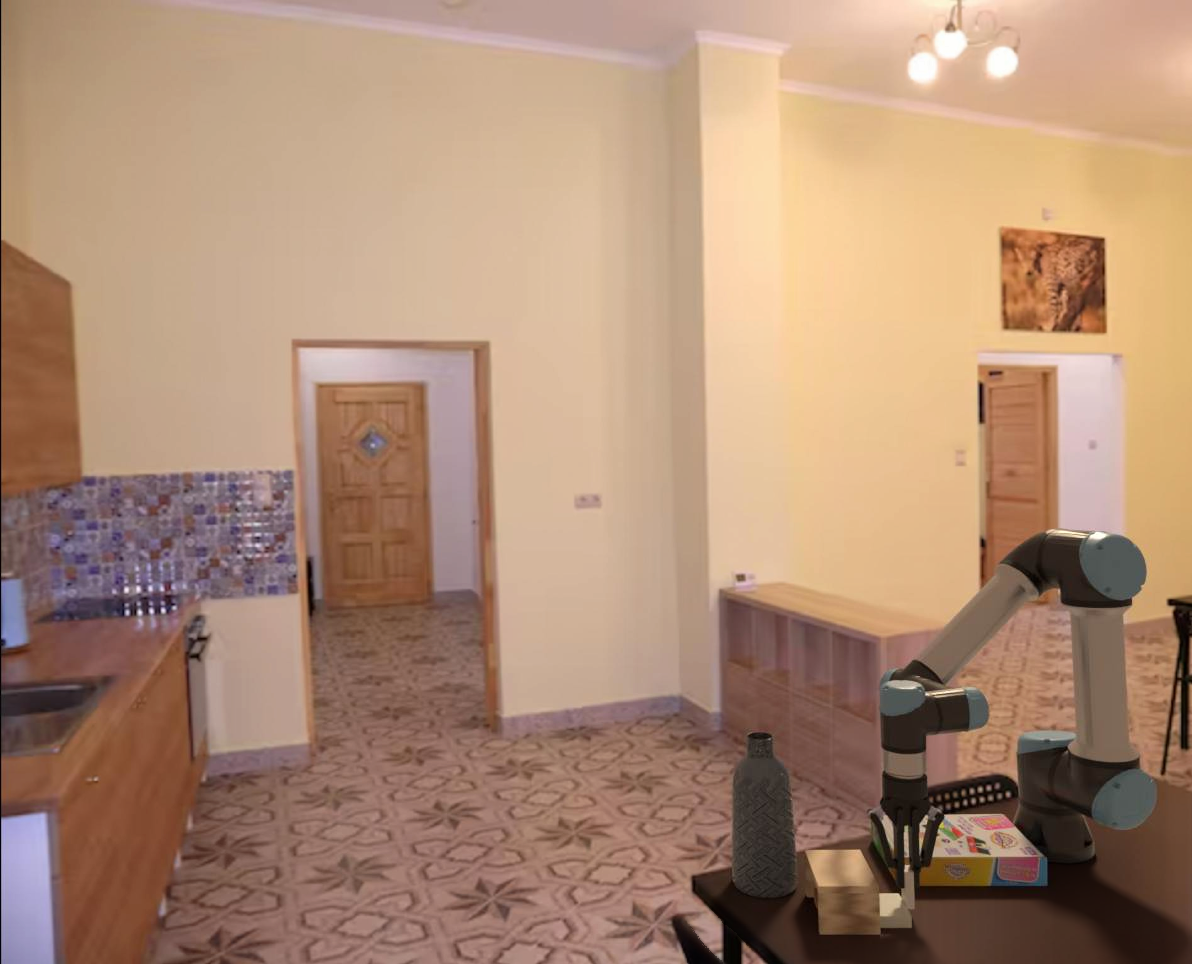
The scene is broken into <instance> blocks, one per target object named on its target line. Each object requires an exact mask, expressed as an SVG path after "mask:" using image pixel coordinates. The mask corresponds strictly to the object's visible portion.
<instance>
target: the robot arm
mask: <svg viewBox="0 0 1192 964" xmlns="http://www.w3.org/2000/svg"><path fill="white" fill-rule="evenodd" d="M993 571H994V575H993V576H992V577H991V578H990V579H989V580H988V581H987V582H986V584H985V585H984V586H983V587H982V588H980V589H979V591H978V592H976V594H975V595H974V596H973V597H972V598H971V599H970V600H969V601H968V602H967V603H966V604H965V605H964V606H963V607H961V609H960V610H959V612H958V613H956V614H955V616H953V618H951V619H950V621H949V622H948V623H947V624H946V625H945V626H944V627H942V629H941V630H940V631H939V632H938V633H937V634H936V635H935V636H934V637H933V638H932V639H931V640H930V641H929V643H928V644H927V645H925V646H924V648H923V649H922V650H920V652H919V653H918V654H917V655H916V656H915V657H914V658H913V659H912V660H911V661H910V662H909V663H908V664H907V665H906V666H905V667H904V668H898V667H897V668H896V667H895V668H892V669H889V670H887V671H885V672H884V674H882V676H881V678H880V681H879V683H878V690H879V691H878V693H879V705H878V710H879V725H880V726H879V731H880V747H881V748H880V749H881V752H880V753H881V756H880V757H881V759H880V760H881V769H882V772H881V791H882V792H881V793H882V795H881V798H880V799H879V805H878V806H877V807H875V808H868V809H867V810H866V811H867V813H866V814H867V815H868V818H870V821H871V820H872V821H873V823H874V826H875V829H876V833H877V837H878V840H879V844H880V847H881V851H882V854H883V858H884V860H885V862H886V864H887V866H888V867H889V868H895V880H894V881H895V884H896V886H897V887H898V889H901V898H902V900H903V902H904V904H905V905H906V907H907V909H908V910H916V909H915V908H916V906H915V900H916V899H915V889H919V888H920V887H921V886H920V875H919V873H920V872H921V868H923V867H929V866H930V865H931V860H932V856H933V851H934V847H935V842H936V837H937V833H938V828H939V826H940V824H941V823H942V821H943V820H944V818H945V816H944V815H945V814H944V813H943V812H942V810H941V809H940V808H938V807H934V806H933V805H932V804H931V802H930V800H929V795H928V793H929V791H928V790H929V789H928V787H929V786H928V776H927V774H926V773H927V771H928V762H927V761H928V758H927V756H928V755H927V737H928V736H935V735H937V736H938V735H945V734H946V735H947V734H954V733H962V732H965V733H968V732H970V731H974V730H978V729H982V728H983V727H985V726H986V725H987V723H988V722H989V718H990V712H989V711H990V706H989V702H988V700H987V698H986V696H985V694H984V693H983V692H982V691H981V690H980V689H979V688H977V687H975V686H963V685H961V686H958V687H951V686H948V684H949V683H950V682H952V680H953V679H954V678H955V677H956V676H957V675H958V674H959V673H960V672H961V671H962V670H963V669H964V668H965V667H966V665H968V664H969V662H970V661H971V660H973V659H974V657H975V656H976V655H977V654H978V653H979V652H980V651H981V650H982V649H983V648H984V647H985V646H986V645H987V644H988V643H989V642H990V641H991V640H992V639H993V638H994V637H995V635H997V634H998V632H1000V630H1002V628H1003V627H1004V626H1006V624H1007V623H1008V622H1009V621H1010V620H1011V619H1012V618H1013V617H1014V616H1015V615H1016V614H1017V613H1018V612H1019V610H1020V609H1021V608H1022V607H1023V606H1024V605H1025V604H1026V603H1027V602H1036V601H1037V600H1038V599H1039V598H1040V597H1041V596H1042V595H1043V594H1044V593H1046V592H1048V591H1050V590H1055V589H1056V590H1059V592H1060V593H1059V595H1060V596H1059V597H1060V605H1061V606H1062V607H1064V609H1066V610H1067V611H1068V612H1069V614H1070V616H1069V617H1070V631H1071V632H1070V635H1071V637H1070V638H1071V655H1072V657H1071V658H1072V673H1073V674H1072V675H1073V692H1074V693H1073V696H1074V697H1073V699H1074V714H1075V715H1074V717H1075V719H1074V720H1075V733H1074V732H1070V731H1063V730H1033V731H1027V732H1024V733H1021V735H1020V736H1019V737H1018V738H1017V749H1016V752H1015V753H1016V766H1017V767H1016V769H1017V791H1018V806H1017V809H1016V812H1015V815H1014V818H1013V820H1012V823H1013V825H1014V826H1015V827H1016V828H1017V829H1018V830H1019V831H1020V832H1021V833H1022V834H1023V835H1024V836H1025V837H1026V838H1027V839H1028V840H1029V841H1030V842H1031V843H1032V844H1033V845H1034V846H1035V847H1036V848H1037V849H1038V850H1039V851H1040V852H1041V853H1042V854H1043V855H1044V856H1045V857H1046V858H1047V862H1050V863H1057V864H1058V863H1059V864H1077V863H1079V864H1080V863H1085V862H1087V861H1090V860H1092V859H1093V858H1094V856H1095V853H1096V852H1095V851H1096V849H1095V840H1094V838H1093V836H1092V832H1091V830H1090V827H1089V825H1088V822H1087V819H1086V817H1087V818H1089V819H1091V820H1093V821H1095V822H1096V823H1097V824H1099V825H1102V826H1107V827H1109V828H1111V829H1115V830H1119V831H1127V830H1131V829H1134V828H1137V827H1138V826H1140V825H1141V824H1143V823H1144V822H1145V821H1146V820H1147V818H1148V817H1149V816H1150V815H1151V814H1152V812H1153V810H1154V808H1155V806H1156V803H1157V798H1158V797H1157V796H1158V790H1157V785H1156V782H1155V780H1154V779H1153V778H1152V777H1151V776H1150V775H1149V773H1148V772H1146V771H1144V770H1143V769H1141V760H1140V757H1141V756H1140V752H1139V751H1140V750H1138V749H1137V748H1136V747H1135V746H1134V745H1133V744H1131V743H1130V731H1129V730H1130V728H1129V709H1128V707H1129V706H1128V705H1129V704H1128V686H1127V683H1128V682H1127V667H1126V665H1127V664H1126V648H1125V647H1126V645H1125V644H1126V643H1125V641H1126V640H1125V628H1124V627H1125V626H1124V625H1125V622H1124V614H1125V613H1126V612H1127V611H1129V609H1131V608H1132V607H1133V598H1134V597H1136V596H1137V595H1138V594H1139V593H1140V592H1141V591H1142V589H1143V588H1142V586H1143V585H1145V584H1146V582H1147V581H1146V579H1147V573H1148V572H1147V563H1146V559H1145V557H1144V555H1143V552H1142V551H1141V549H1140V547H1138V545H1136V544H1135V543H1134V542H1133V541H1132V540H1131V539H1130V538H1128V537H1126V536H1123V535H1122V534H1117V533H1111V532H1108V531H1102V530H1100V531H1099V530H1085V529H1083V530H1082V529H1081V530H1080V529H1068V528H1050V529H1047V530H1043V531H1041V532H1039V533H1035V534H1034V535H1033V536H1031V537H1029V538H1028V539H1025V540H1024V541H1023V542H1021V543H1020V544H1018V545H1017V546H1016V547H1015V548H1014V549H1012V550H1011V551H1010V552H1009V553H1008V554H1006V555H1005V557H1003V558H1002V559H1001V560H1000V561H999V562H998V564H997V565H996V566H995V567H994V570H993ZM884 814H885V815H887V816H888V817H889V819H890V820H891V821H892V825H893V840H894V858H892V854H891V851H890V847H889V843H888V840H887V836H886V833H885V829H884V826H883V824H882V822H881V821H883V819H884V817H883V815H884ZM926 815H928V821H927V825H926V830H925V834H924V839H923V843H922V848H921V852H920V849H919V832H920V823H921V821H922V820H923V819H924V817H925V816H926ZM904 826H908V843H909V863H910V866H909V865H905V855H904V832H905V827H904ZM884 860H883V861H884ZM885 862H884V863H885ZM886 864H885V865H886ZM887 866H886V867H887ZM888 867H887V868H888Z"/></svg>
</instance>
